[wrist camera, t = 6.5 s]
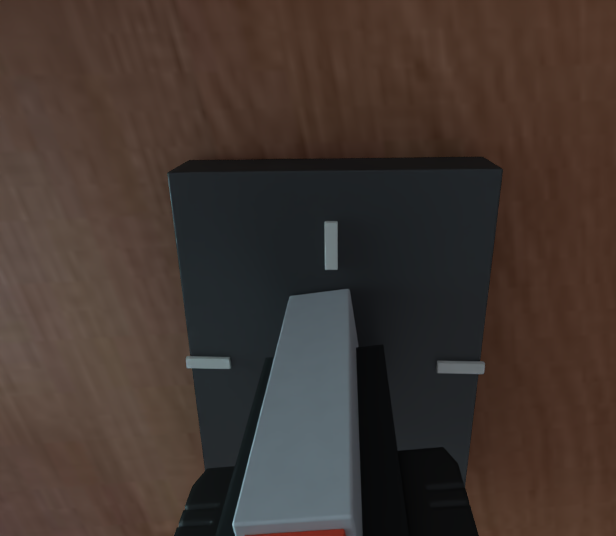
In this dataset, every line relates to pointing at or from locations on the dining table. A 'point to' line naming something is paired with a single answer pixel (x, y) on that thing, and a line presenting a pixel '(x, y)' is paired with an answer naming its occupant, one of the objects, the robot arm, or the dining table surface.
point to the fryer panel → (338, 279)
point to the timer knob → (307, 428)
